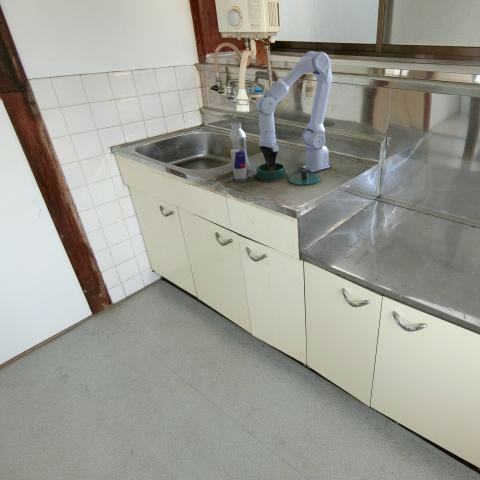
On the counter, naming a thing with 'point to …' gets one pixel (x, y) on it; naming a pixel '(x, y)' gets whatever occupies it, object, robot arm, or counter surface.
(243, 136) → the plastic bottle
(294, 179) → the tin lid
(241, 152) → the energy drink
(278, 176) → the tin
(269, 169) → the stick
